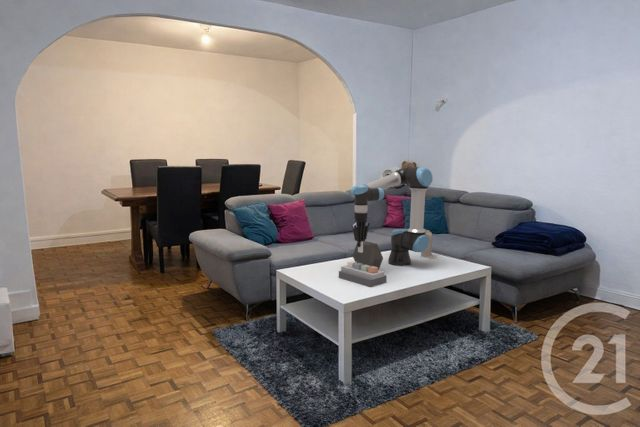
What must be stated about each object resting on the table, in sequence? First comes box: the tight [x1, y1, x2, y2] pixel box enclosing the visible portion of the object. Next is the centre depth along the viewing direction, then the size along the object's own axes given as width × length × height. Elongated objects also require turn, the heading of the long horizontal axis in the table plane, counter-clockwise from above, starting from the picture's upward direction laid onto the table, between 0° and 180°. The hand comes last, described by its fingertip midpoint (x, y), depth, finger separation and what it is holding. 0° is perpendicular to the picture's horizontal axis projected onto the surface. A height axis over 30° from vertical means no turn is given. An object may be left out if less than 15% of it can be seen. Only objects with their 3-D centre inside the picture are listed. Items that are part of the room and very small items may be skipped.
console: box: [338, 264, 387, 288], centre depth 264 cm, size 14×25×6 cm, turn 42°
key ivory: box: [346, 260, 357, 268], centre depth 270 cm, size 4×4×3 cm
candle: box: [420, 228, 438, 259], centre depth 320 cm, size 7×14×20 cm, turn 42°
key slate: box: [354, 263, 364, 270], centre depth 266 cm, size 4×4×3 cm
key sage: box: [361, 265, 371, 272], centre depth 262 cm, size 4×4×3 cm
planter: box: [352, 240, 384, 271], centre depth 284 cm, size 17×8×21 cm
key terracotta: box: [368, 266, 378, 274], centre depth 258 cm, size 4×4×3 cm
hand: (360, 252), depth 264 cm, fingers closed
